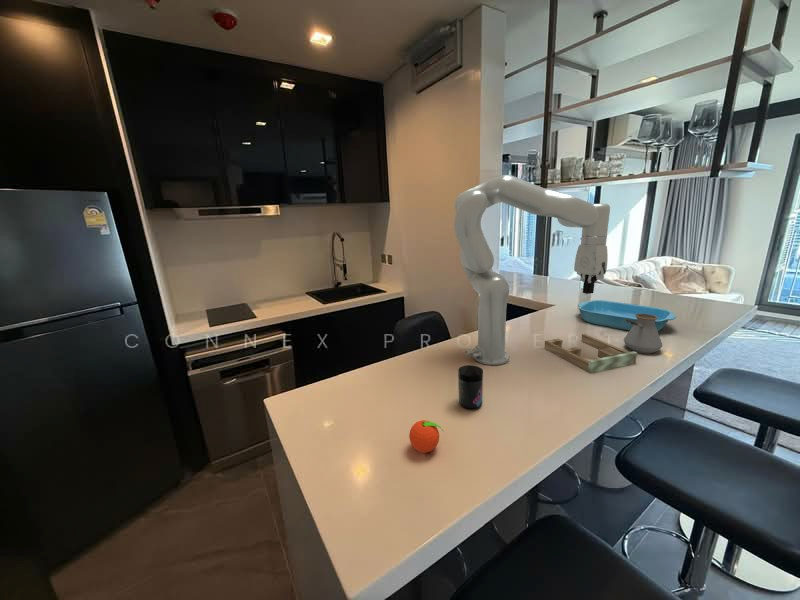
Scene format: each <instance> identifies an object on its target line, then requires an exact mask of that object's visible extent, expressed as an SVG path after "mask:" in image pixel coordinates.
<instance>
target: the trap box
mask: <svg viewBox="0 0 800 600" xmlns="http://www.w3.org/2000/svg"><path fill="white" fill-rule="evenodd" d="M563 341H564V340H563V339H561V338H559V337H558V338H555V339H554V338H553V339H547V340H544V349H545V350H547V351H549V352H551V353H552V354H554V355H556V356H559V358H562V359H563V360H566V361H567V362H568V363H571V364H572V365H574V366H576V367H578V368H580V369H582V370H584V371H586V372H587V373H589V374H594V373H599V372H604V371H608V370H614V369H617V368H621V367H623V368H624V367H627V366H631V365H636V364H637V358H638V357H637V356H638V352H635V351H633V350H632V351H627V350H625V349H622V348H620V347H618V346H615V345H612V344H611V343H607V342H605V341H603V340H600V339H598V338H596V337H593V336H591V335H588V334H585V333H582V335H581V342H582V343H585V344H586V345H589V346H591V347H592V348H596V349H598V350H600V349H605V348H612V349H614V350H617V351H619V352H621V353H623V354H619V355H614V356H609V357H604V358H599V357H598V356H594V357H590V358H584V357H582V355H581V353H582V348H581V347H578V346H575V347H569V348H564V347H563Z"/></svg>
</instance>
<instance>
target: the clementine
mask: <svg viewBox="0 0 800 600" xmlns="http://www.w3.org/2000/svg"><path fill="white" fill-rule="evenodd" d="M438 428H440V429H441V431H442V432H444V430H443V428H442V427H441V426H440V425H439V424H437V423H435V422H433V421H430V420H426V419H425V420H424V419H423V420H418V421H416V422H415V423H414V424H413V425H412V426H411V427H410V430H409V435H408V437H409V438H408V439H409V441H410V444H411V445H412V447H413V448H414V449H415V450H416V451H417V452H419V453H431V452H432V451H433V450H435V449H436V448H437V446H438V444H439V441H440V433H439V429H438Z"/></svg>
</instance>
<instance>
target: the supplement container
mask: <svg viewBox="0 0 800 600" xmlns="http://www.w3.org/2000/svg"><path fill="white" fill-rule="evenodd" d="M457 373H458V374H457V377H458V381H457V383H458V384H457V385H458V387H457V388H458V391H457V393H458V404H459V405H460V406H461V408H463V409H465V410H469V411H470V410H471V411H473V410H478V409H480V408H481V407H482V406H483V402H484V401H483V395H484V394H483V392H484V391H483V390H484V389H483V386H484V382H483V381H484V370H483V369H482V368H481V367H480V366H476V365H473V364H468V365H462V366H460V367H459V368H458V369H457Z"/></svg>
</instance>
